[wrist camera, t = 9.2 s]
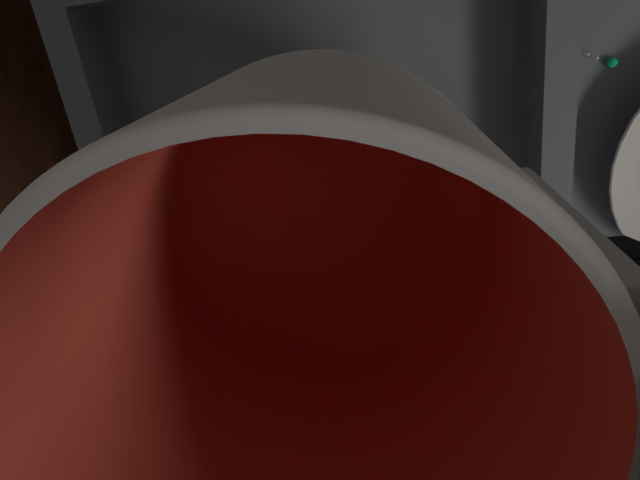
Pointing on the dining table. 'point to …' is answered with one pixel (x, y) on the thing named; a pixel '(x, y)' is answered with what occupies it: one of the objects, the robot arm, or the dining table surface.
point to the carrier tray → (385, 43)
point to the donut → (626, 175)
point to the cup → (309, 297)
